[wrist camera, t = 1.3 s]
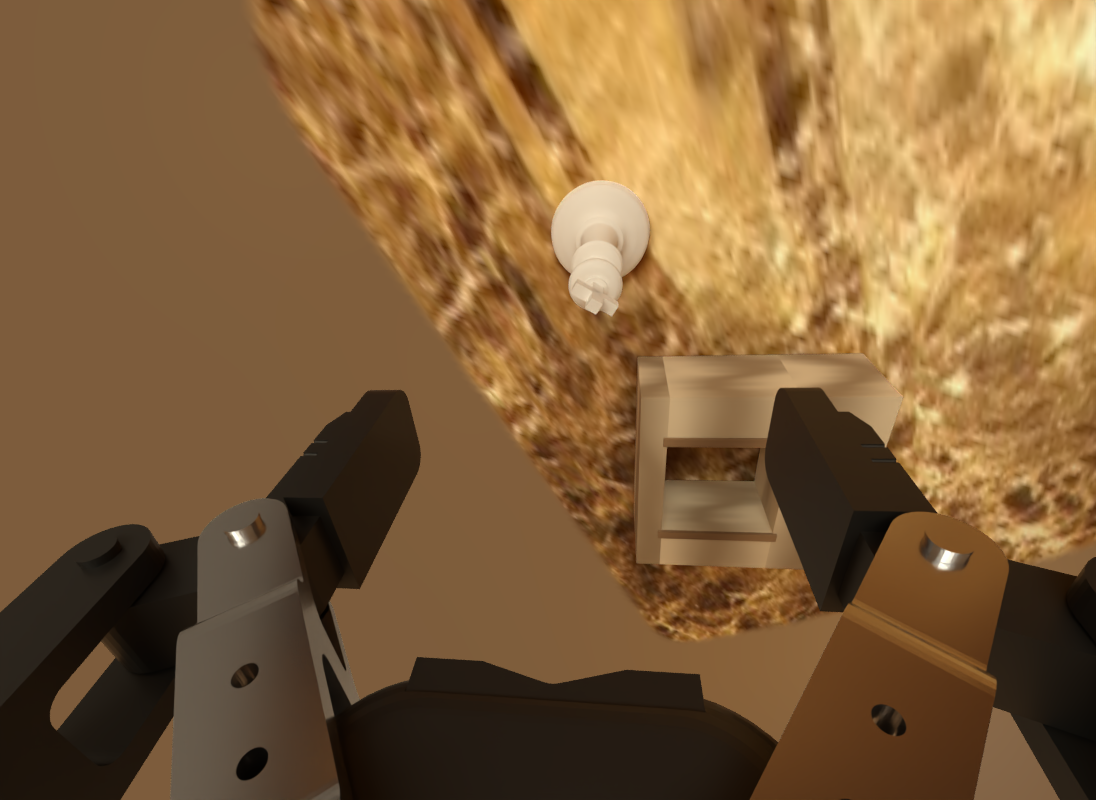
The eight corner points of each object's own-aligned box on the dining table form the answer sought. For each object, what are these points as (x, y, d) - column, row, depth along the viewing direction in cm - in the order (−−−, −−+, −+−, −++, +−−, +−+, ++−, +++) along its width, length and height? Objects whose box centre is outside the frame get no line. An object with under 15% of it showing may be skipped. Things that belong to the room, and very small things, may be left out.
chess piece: (615, 297, 27) (616, 392, 19) (534, 250, 26) (497, 329, 18) (669, 214, 25) (699, 281, 16) (582, 159, 24) (566, 201, 15)
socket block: (862, 353, 27) (904, 398, 23) (817, 516, 34) (844, 573, 30) (637, 356, 29) (641, 399, 25) (633, 511, 35) (636, 565, 31)
